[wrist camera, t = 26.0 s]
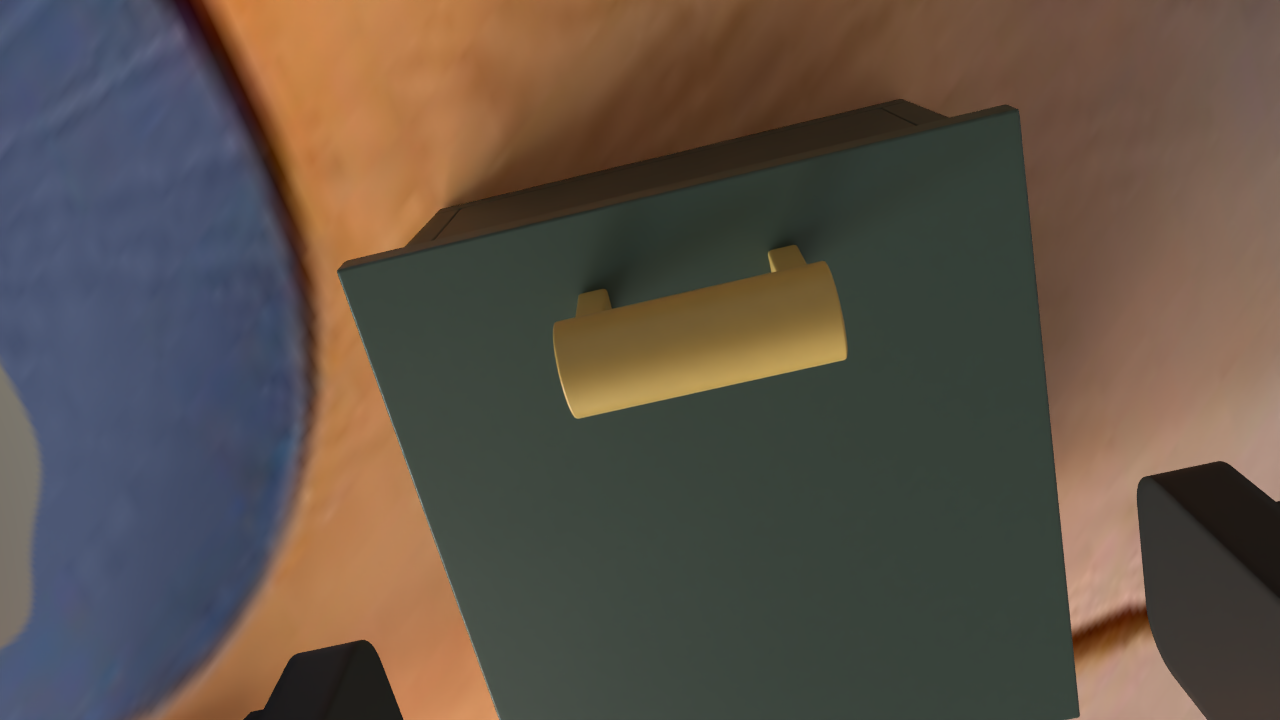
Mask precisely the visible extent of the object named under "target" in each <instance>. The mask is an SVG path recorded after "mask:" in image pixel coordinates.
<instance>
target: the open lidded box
mask: <svg viewBox="0 0 1280 720" xmlns="http://www.w3.org/2000/svg"><path fill="white" fill-rule="evenodd" d="M946 118H948V117H946V116H943V115H941V114H938V113H936V112H934V111H931V110H929V109H926V108H924V107H921V106H919V105H916V104H914V103H911V102H908V101H905V100H903V99H899V100H894V101H890V102H886V103H882V104H878V105H874V106H869V107H865V108H861V109H857V110H853V111H849V112H844V113H840V114H836V115H832V116H828V117H823V118H819V119H815V120H811V121H807V122H803V123H798V124H794V125H790V126H786V127H782V128H778V129H773V130H769V131H765V132H761V133H757V134H753V135H748V136H744V137H740V138H736V139H732V140H728V141H723V142H719V143H715V144H711V145H707V146H702V147H698V148H694V149H690V150H686V151H682V152H677V153H673V154H669V155H665V156H661V157H657V158H652V159H648V160H644V161H640V162H636V163H632V164H627V165H623V166H619V167H615V168H611V169H607V170H602V171H598V172H594V173H590V174H586V175H582V176H577V177H573V178H569V179H565V180H561V181H556V182H552V183H548V184H544V185H540V186H536V187H531V188H527V189H523V190H519V191H515V192H511V193H506V194H502V195H498V196H494V197H490V198H486V199H481V200H477V201H473V202H469V203H465V204H461V205H456V206H452V207H448V208H444V209H440V210H439V211H438V212H437V213H436V214H435V216H433V218H432V219H431V220H430V221H429V222H428V223H427V224H426V225H425V226H424V227H423V228H422V229H421V230H420V231H419V232H418V233H417V234H416V236H415V237H414V238H413V239H412V240H411V241H410V242H409V243H408V244H407V245H406V246H405V247H407V246H411V245H416V244H420V243H424V242H428V241H432V240H437V239H441V238H445V237H449V236H454V235H458V234H462V233H466V232H470V231H475V230H479V229H483V228H487V227H491V226H496V225H500V224H504V223H508V222H512V221H517V220H521V219H525V218H529V217H534V216H538V215H542V214H546V213H550V212H555V211H559V210H563V209H567V208H571V207H576V206H580V205H584V204H588V203H593V202H597V201H601V200H605V199H609V198H614V197H618V196H622V195H626V194H630V193H635V192H639V191H643V190H647V189H652V188H656V187H660V186H664V185H668V184H673V183H677V182H681V181H685V180H689V179H694V178H698V177H702V176H706V175H711V174H715V173H719V172H723V171H727V170H732V169H736V168H740V167H744V166H748V165H753V164H757V163H761V162H765V161H770V160H774V159H778V158H782V157H786V156H791V155H795V154H799V153H803V152H807V151H812V150H816V149H820V148H824V147H829V146H833V145H837V144H841V143H845V142H850V141H854V140H858V139H862V138H866V137H871V136H875V135H879V134H883V133H888V132H892V131H896V130H900V129H904V128H909V127H913V126H917V125H921V124H925V123H930V122H934V121H938V120H942V119H946Z"/></svg>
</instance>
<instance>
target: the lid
mask: <svg viewBox="0 0 1280 720" xmlns="http://www.w3.org/2000/svg"><path fill="white" fill-rule="evenodd" d="M337 273H338V276H339V279H340V282H341V284H342V287H343V290H344V293H345V295H346V298H347V301H348V304H349V306H350V309H351V312H352V315H353V317H354V320H355V323H356V326H357V329H358V331H359V334H360V337H361V340H362V342H363V345H364V348H365V351H366V353H367V356H368V359H369V362H370V364H371V367H372V370H373V373H374V375H375V378H376V381H377V384H378V386H379V389H380V392H381V395H382V397H383V400H384V403H385V406H386V409H387V411H388V414H389V417H390V420H391V422H392V425H393V428H394V431H395V433H396V436H397V439H398V442H399V444H400V447H401V450H402V453H403V455H404V458H405V461H406V464H407V466H408V469H409V472H410V475H411V477H412V480H413V483H414V486H415V489H416V491H417V494H418V497H419V500H420V502H421V505H422V508H423V511H424V513H425V516H426V519H427V522H428V524H429V527H430V530H431V533H432V535H433V538H434V541H435V544H436V546H437V549H438V552H439V555H440V557H441V560H442V563H443V566H444V569H445V571H446V574H447V577H448V580H449V582H450V585H451V588H452V591H453V593H454V596H455V599H456V602H457V604H458V607H459V610H460V613H461V615H462V618H463V621H464V624H465V626H466V629H467V632H468V635H469V637H470V640H471V643H472V646H473V649H474V651H475V654H476V657H477V660H478V662H479V665H480V668H481V671H482V673H483V676H484V679H485V682H486V684H487V687H488V690H489V693H490V695H491V698H492V701H493V704H494V706H495V709H496V712H497V715H498V717H499V720H1067V719H1073V718H1078V717H1079V716H1080V713H1079V703H1078V693H1077V683H1076V673H1075V663H1074V653H1073V643H1072V633H1071V623H1070V613H1069V603H1068V593H1067V583H1066V573H1065V563H1064V553H1063V543H1062V533H1061V523H1060V513H1059V503H1058V493H1057V483H1056V473H1055V463H1054V453H1053V444H1052V434H1051V424H1050V414H1049V404H1048V394H1047V384H1046V374H1045V364H1044V354H1043V344H1042V334H1041V324H1040V314H1039V304H1038V294H1037V284H1036V274H1035V264H1034V254H1033V244H1032V234H1031V224H1030V214H1029V204H1028V194H1027V184H1026V175H1025V165H1024V155H1023V145H1022V135H1021V125H1020V115H1019V110H1018V109H1016V108H1014V107H1012V106H1009V105H1006V104H1005V105H1001V106H997V107H993V108H989V109H984V110H980V111H976V112H972V113H968V114H963V115H959V116H955V117H951V118H946V119H942V120H938V121H934V122H930V123H925V124H921V125H917V126H913V127H909V128H904V129H900V130H896V131H892V132H888V133H883V134H879V135H875V136H871V137H866V138H862V139H858V140H854V141H850V142H845V143H841V144H837V145H833V146H829V147H824V148H820V149H816V150H812V151H807V152H803V153H799V154H795V155H791V156H786V157H782V158H778V159H774V160H770V161H765V162H761V163H757V164H753V165H748V166H744V167H740V168H736V169H732V170H727V171H723V172H719V173H715V174H711V175H706V176H702V177H698V178H694V179H689V180H685V181H681V182H677V183H673V184H668V185H664V186H660V187H656V188H652V189H647V190H643V191H639V192H635V193H630V194H626V195H622V196H618V197H614V198H609V199H605V200H601V201H597V202H593V203H588V204H584V205H580V206H576V207H571V208H567V209H563V210H559V211H555V212H550V213H546V214H542V215H538V216H534V217H529V218H525V219H521V220H517V221H512V222H508V223H504V224H500V225H496V226H491V227H487V228H483V229H479V230H475V231H470V232H466V233H462V234H458V235H454V236H449V237H445V238H441V239H437V240H432V241H428V242H424V243H420V244H416V245H411V246H407V247H403V248H399V249H395V250H390V251H386V252H382V253H378V254H373V255H369V256H365V257H361V258H357V259H352V260H348V261H346V262H344V263H343V265H342V266H341V267H340V268H339V269H338V270H337Z"/></svg>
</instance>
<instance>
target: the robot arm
mask: <svg viewBox="0 0 1280 720" xmlns="http://www.w3.org/2000/svg"><path fill="white" fill-rule="evenodd" d="M1137 507H1138V519H1139V530H1140V541H1141V552H1142V563H1143V574H1144V585H1145V596H1146V607H1147V614H1148V619H1149V623H1150V627H1151V631H1152V634H1153V637H1154V640H1155V642H1156V645H1157V648H1158V650H1159V652H1160V654H1161V656H1162V658H1163V660H1164V662H1165V664H1166V666H1167V667H1168V669H1169V671H1170V672H1171V674H1172V675H1173V676H1174V678H1175V679H1176V680H1177V681H1178V683H1179V684H1180V685H1181V687H1182V688H1183V689H1184V690H1185V692H1186V693H1187V694H1188V696H1189V697H1190V698H1191V699H1192V701H1193V702H1194V703H1195V705H1196V706H1197V707H1198V708H1199V710H1200V711H1201V712H1202V714H1203V715H1204V716H1205V717H1206V719H1207V720H1280V501H1278V502H1275V501H1274V500H1273V499H1272V498H1270V497H1269V496H1268V495H1267V494H1265V493H1264V492H1263V491H1262V490H1260V489H1259V488H1258V487H1257V486H1255V485H1254V484H1253V483H1252V482H1251V481H1249V480H1248V479H1247V478H1246V477H1244V476H1243V475H1242V474H1241V473H1239V472H1238V471H1237V470H1236V469H1234V468H1233V467H1232V466H1230V465H1229V464H1227V463H1225V462H1222V461H1217V462H1212V463H1208V464H1203V465H1198V466H1193V467H1189V468H1184V469H1179V470H1175V471H1170V472H1165V473H1160V474H1156V475H1151V476H1146V477H1143V478H1142V479H1141V480H1140V482H1139V484H1138V489H1137ZM243 720H403V717H402V715H401V712H400V709H399V707H398V704H397V702H396V699H395V696H394V694H393V691H392V689H391V686H390V683H389V681H388V678H387V676H386V673H385V671H384V668H383V665H382V663H381V660H380V658H379V656H378V653H377V652H376V650H375V648H374V647H373V646H372V644H370V643H369V642H368V641H366V640H359V641H355V642H350V643H345V644H340V645H336V646H331V647H326V648H321V649H317V650H312V651H307V652H302V653H298V654H296V655H294V656H293V657H292V658H291V659H290V660H289V662H288V663H287V665H286V667H285V669H284V671H283V673H282V675H281V677H280V679H279V681H278V683H277V684H276V686H275V688H274V690H273V692H272V694H271V696H270V698H269V700H268V702H267V704H266V706H265V708H264V709H263V710H258V711H253V712H250V713H249V714H248V715H247V716H246V717H245V718H244V719H243Z"/></svg>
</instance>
